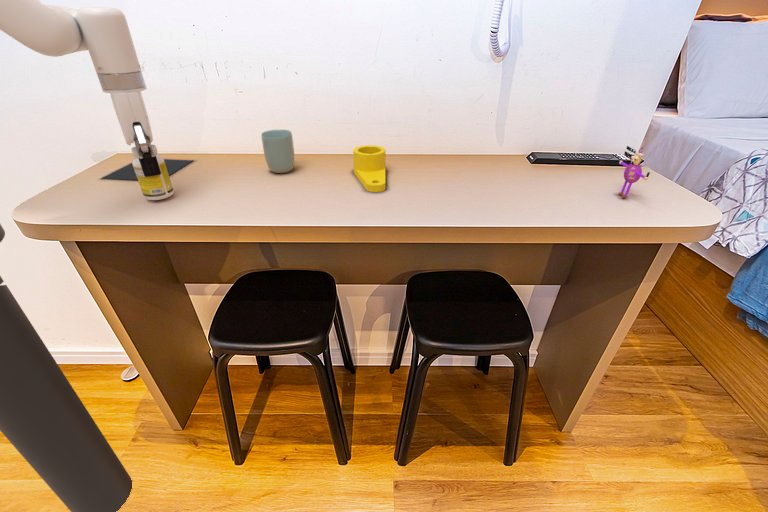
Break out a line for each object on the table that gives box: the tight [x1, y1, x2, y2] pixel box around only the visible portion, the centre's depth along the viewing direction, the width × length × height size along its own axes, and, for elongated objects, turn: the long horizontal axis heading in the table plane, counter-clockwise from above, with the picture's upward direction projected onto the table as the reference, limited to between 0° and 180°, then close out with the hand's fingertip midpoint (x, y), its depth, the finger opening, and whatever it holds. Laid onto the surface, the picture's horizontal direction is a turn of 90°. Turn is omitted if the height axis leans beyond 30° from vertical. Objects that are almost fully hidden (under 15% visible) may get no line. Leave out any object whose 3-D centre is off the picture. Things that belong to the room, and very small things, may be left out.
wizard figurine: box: [617, 145, 651, 199], centre depth 87 cm, size 11×3×12 cm, turn 0°
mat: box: [100, 158, 194, 181], centre depth 105 cm, size 16×16×1 cm
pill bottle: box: [130, 144, 174, 201], centre depth 85 cm, size 6×6×11 cm
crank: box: [352, 144, 386, 193], centre depth 98 cm, size 18×8×6 cm, turn 9°
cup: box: [260, 129, 296, 174], centre depth 101 cm, size 8×8×10 cm
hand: (151, 169), depth 85 cm, fingers closed on pill bottle, 6 cm apart
